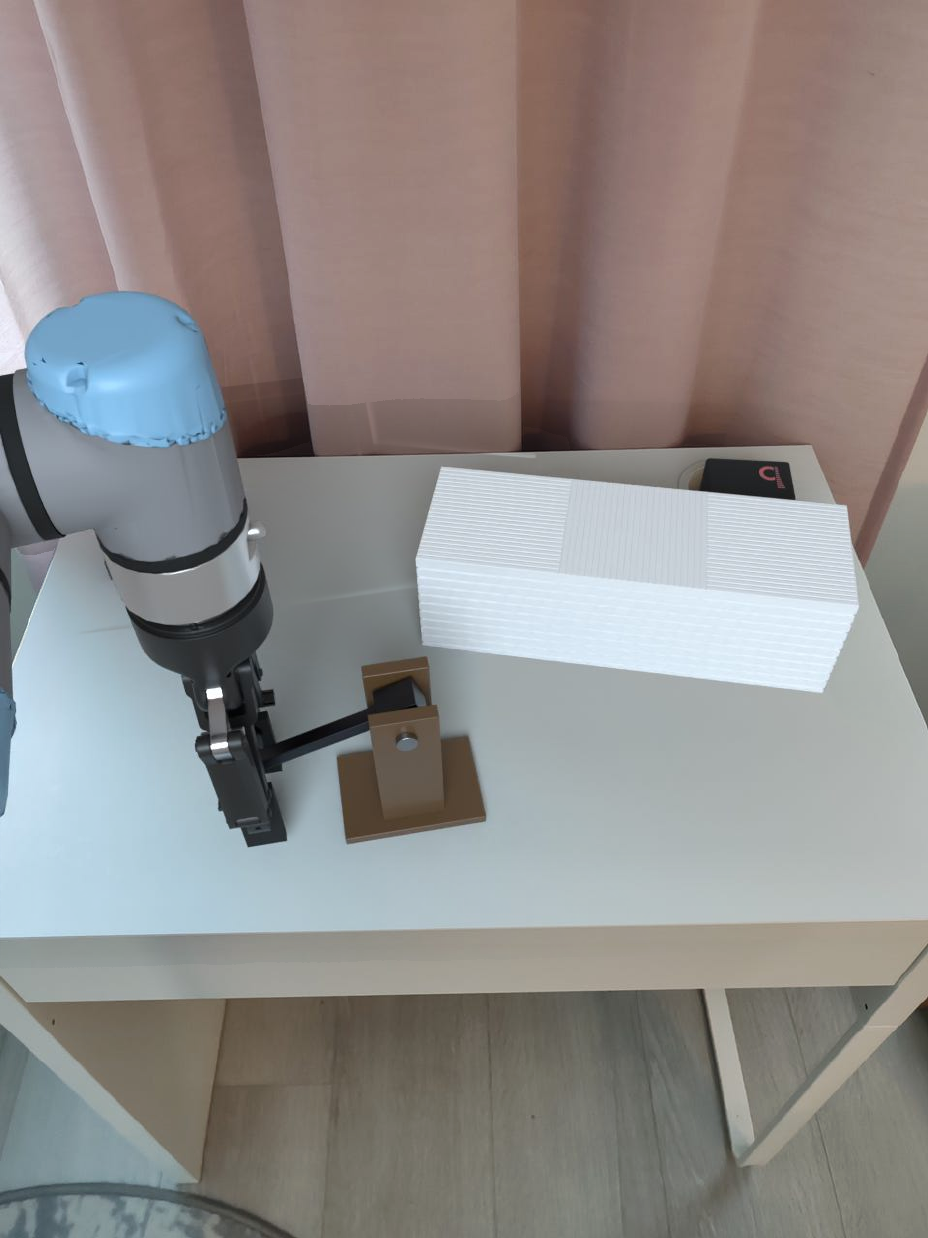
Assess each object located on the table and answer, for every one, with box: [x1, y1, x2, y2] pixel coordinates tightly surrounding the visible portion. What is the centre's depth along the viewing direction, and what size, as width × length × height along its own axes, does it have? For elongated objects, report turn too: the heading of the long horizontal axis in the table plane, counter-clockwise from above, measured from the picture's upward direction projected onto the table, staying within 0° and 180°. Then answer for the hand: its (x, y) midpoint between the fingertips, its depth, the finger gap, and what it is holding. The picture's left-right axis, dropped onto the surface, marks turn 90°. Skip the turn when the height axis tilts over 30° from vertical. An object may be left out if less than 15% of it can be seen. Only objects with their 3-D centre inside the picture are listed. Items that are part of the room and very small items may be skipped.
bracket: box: [336, 655, 487, 845], centre depth 69 cm, size 10×7×13 cm
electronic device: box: [698, 457, 797, 500], centre depth 88 cm, size 7×11×5 cm
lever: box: [254, 678, 427, 770], centre depth 66 cm, size 13×5×2 cm, turn 100°
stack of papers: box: [415, 465, 860, 694], centre depth 80 cm, size 32×11×11 cm, turn 81°
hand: (265, 803), depth 71 cm, fingers closed on lever, 5 cm apart
